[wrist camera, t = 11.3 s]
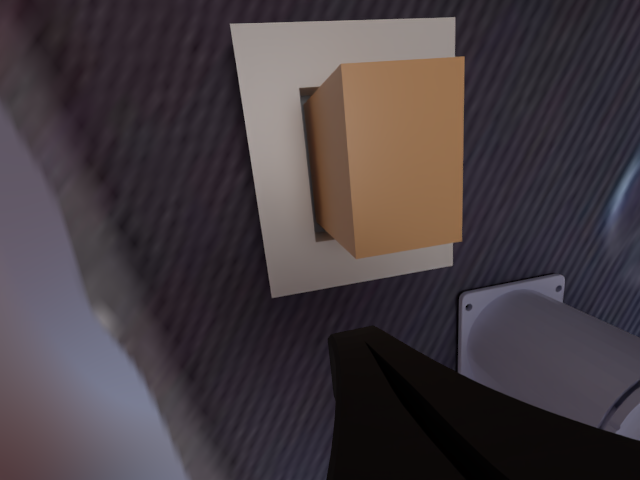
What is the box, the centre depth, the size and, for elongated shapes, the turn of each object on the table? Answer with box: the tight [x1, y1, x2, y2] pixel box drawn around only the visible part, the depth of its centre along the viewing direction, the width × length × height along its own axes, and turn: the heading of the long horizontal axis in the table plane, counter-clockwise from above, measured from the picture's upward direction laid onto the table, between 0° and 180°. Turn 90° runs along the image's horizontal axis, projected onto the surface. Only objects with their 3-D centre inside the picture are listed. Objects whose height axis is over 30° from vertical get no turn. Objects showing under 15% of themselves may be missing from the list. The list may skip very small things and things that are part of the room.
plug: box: [303, 57, 464, 259], centre depth 14 cm, size 6×4×7 cm, turn 6°
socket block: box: [230, 17, 455, 298], centre depth 16 cm, size 12×10×2 cm
